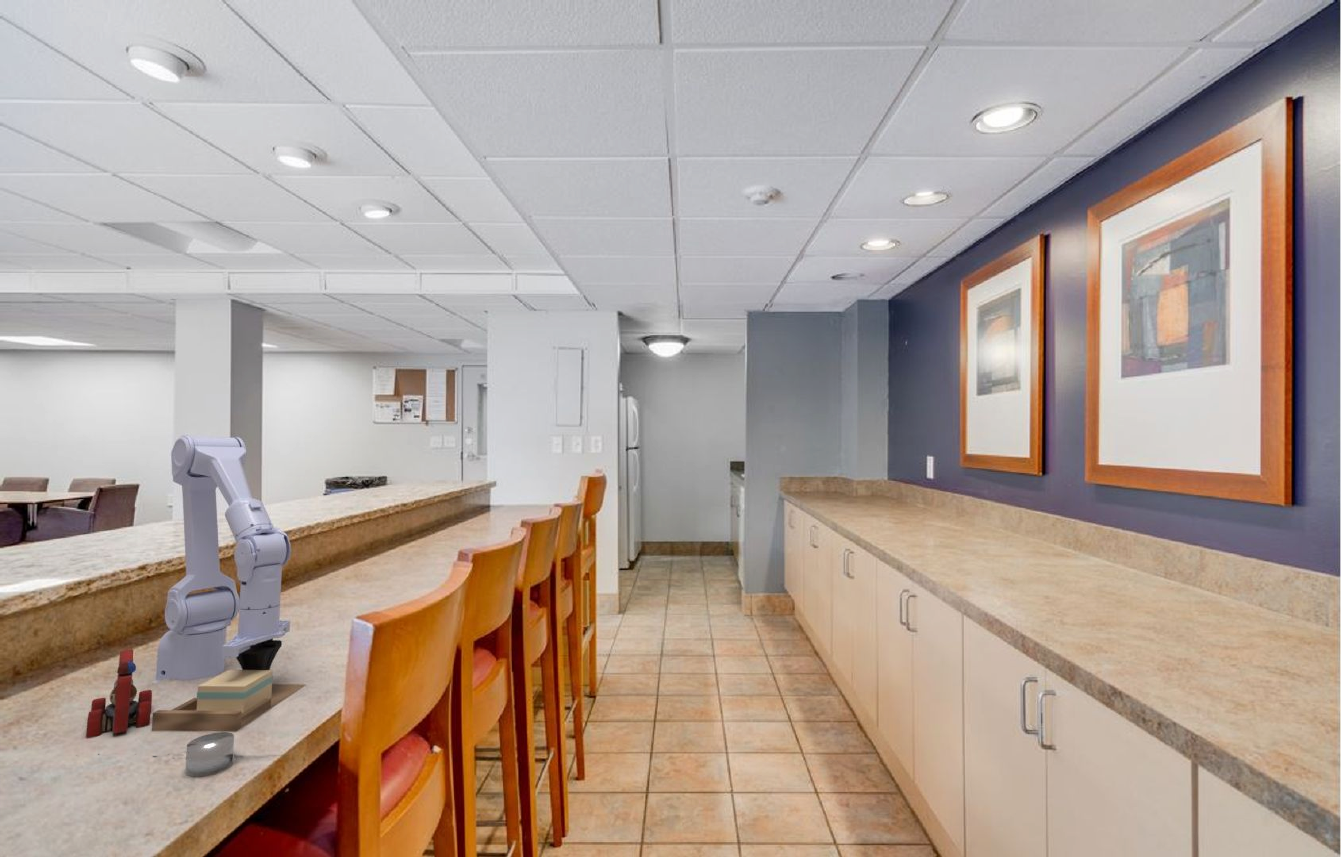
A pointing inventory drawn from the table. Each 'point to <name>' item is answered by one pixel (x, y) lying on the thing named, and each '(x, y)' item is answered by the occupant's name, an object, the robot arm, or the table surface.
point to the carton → (235, 690)
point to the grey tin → (209, 754)
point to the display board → (218, 714)
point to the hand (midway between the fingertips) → (255, 687)
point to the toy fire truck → (120, 703)
